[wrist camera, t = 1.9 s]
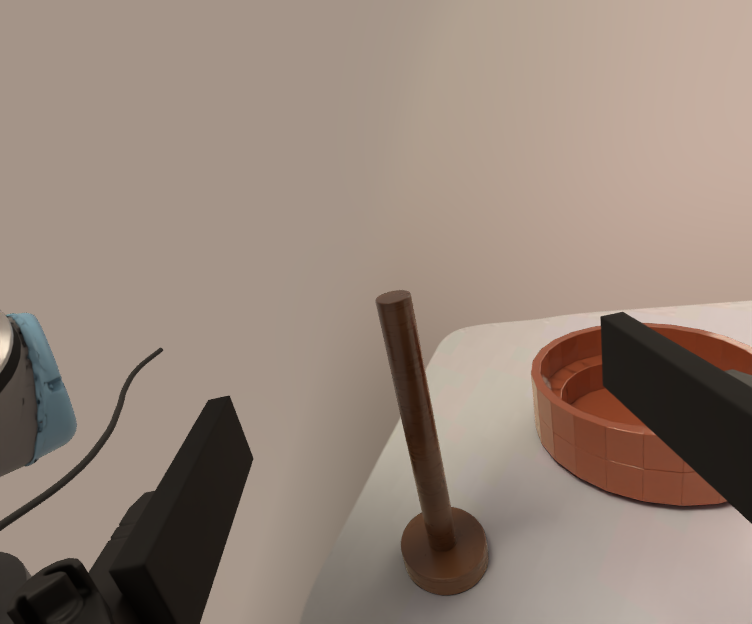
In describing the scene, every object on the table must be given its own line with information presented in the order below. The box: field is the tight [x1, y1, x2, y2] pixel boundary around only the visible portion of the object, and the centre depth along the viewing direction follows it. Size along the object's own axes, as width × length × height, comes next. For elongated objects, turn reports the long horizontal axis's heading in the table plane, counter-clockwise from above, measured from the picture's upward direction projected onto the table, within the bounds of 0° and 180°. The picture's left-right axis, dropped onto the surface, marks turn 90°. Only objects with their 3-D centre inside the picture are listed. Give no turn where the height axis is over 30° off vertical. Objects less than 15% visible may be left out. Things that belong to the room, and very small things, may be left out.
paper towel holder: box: [376, 290, 488, 595], centre depth 28 cm, size 6×6×20 cm
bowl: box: [531, 323, 752, 506], centre depth 37 cm, size 18×18×6 cm
